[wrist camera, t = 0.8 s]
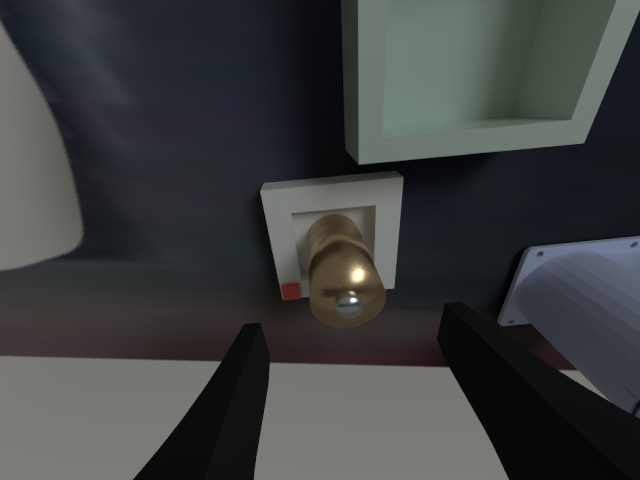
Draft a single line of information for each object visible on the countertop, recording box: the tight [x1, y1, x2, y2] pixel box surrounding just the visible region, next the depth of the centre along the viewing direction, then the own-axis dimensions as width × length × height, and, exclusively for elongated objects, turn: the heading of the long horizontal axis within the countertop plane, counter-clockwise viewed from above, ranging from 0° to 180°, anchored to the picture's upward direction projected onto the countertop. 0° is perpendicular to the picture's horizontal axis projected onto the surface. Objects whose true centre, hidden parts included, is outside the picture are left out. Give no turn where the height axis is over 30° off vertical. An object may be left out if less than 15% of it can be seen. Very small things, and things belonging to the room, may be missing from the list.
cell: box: [308, 214, 386, 328], centre depth 14 cm, size 4×4×6 cm
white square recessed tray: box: [260, 171, 404, 301], centre depth 16 cm, size 8×8×2 cm
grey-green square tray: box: [341, 0, 640, 165], centre depth 10 cm, size 10×10×4 cm
